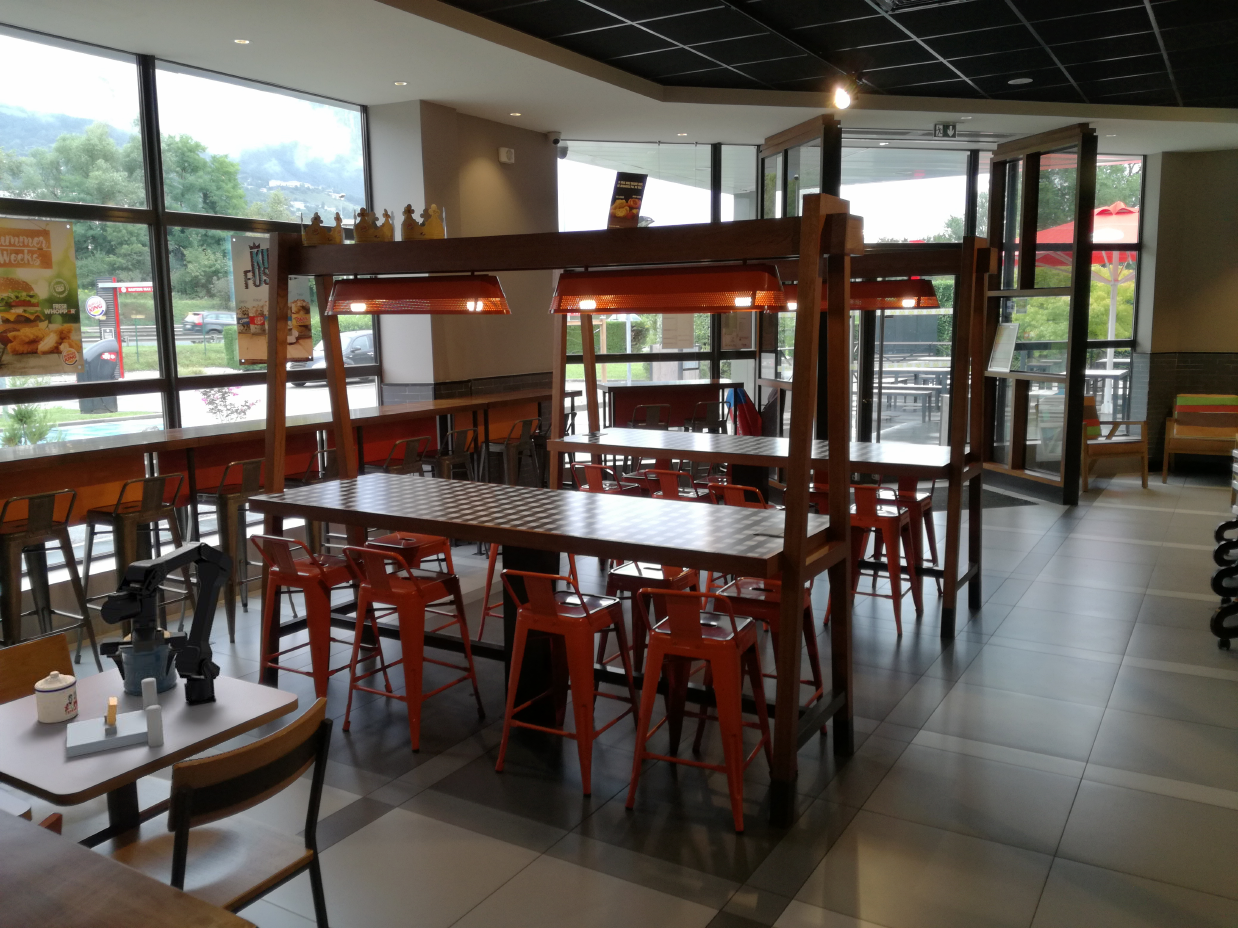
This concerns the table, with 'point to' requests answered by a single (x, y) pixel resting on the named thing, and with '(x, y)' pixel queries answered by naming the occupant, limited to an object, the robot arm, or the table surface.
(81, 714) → the table surface
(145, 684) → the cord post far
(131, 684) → the canister
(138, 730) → the panel
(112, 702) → the thick orange slab
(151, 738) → the cord post near
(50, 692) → the teacup with lid
